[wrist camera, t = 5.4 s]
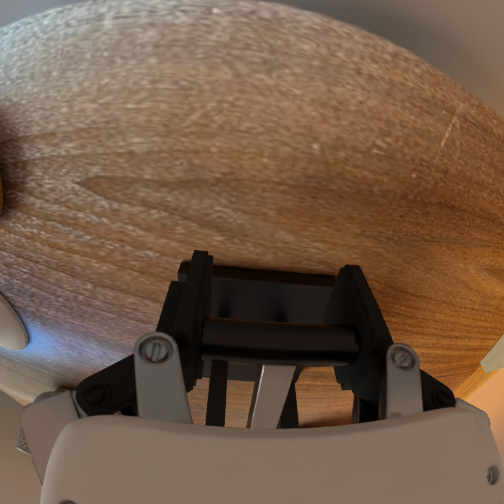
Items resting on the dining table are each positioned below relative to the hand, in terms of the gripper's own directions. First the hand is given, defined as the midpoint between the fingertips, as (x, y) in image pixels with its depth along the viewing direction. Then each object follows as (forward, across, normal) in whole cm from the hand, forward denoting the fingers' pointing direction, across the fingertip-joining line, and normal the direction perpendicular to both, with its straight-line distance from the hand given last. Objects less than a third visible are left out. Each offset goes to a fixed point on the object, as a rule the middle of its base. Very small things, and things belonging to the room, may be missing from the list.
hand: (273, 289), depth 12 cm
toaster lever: (-3, 0, +5) cm, 6 cm away
